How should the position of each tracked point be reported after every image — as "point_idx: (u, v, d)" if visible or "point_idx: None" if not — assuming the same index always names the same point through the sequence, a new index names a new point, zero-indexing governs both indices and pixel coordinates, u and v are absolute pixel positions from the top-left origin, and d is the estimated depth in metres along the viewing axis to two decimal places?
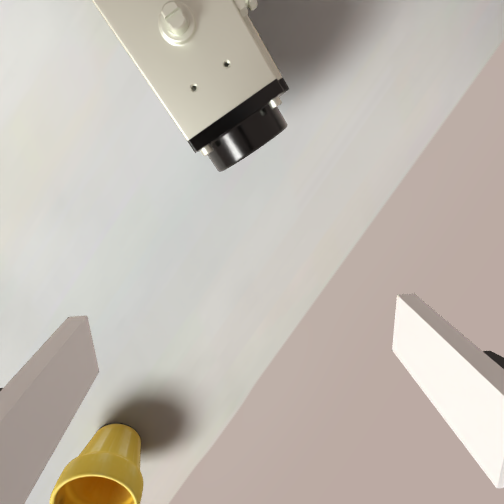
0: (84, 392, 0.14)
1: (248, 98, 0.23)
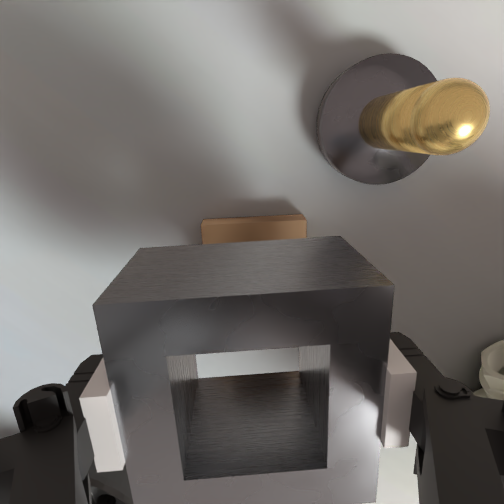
0: None
1: None
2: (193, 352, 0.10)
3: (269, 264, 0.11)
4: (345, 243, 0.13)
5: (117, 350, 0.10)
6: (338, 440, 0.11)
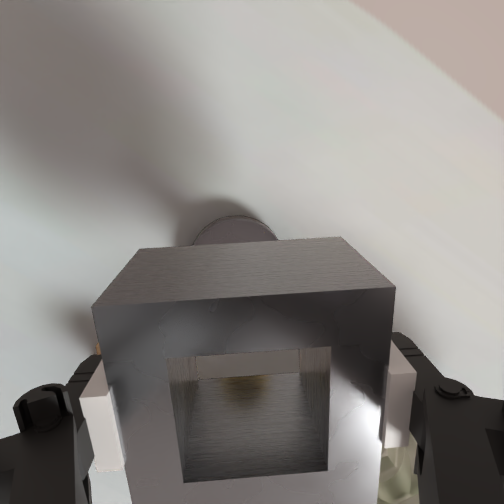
0: None
1: None
2: (193, 354, 0.10)
3: (269, 266, 0.11)
4: (346, 244, 0.13)
5: (116, 352, 0.10)
6: (339, 442, 0.11)
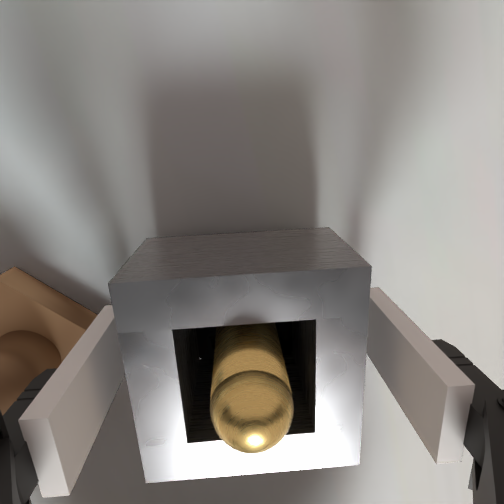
0: (121, 376, 0.15)
1: None
2: (195, 326, 0.11)
3: (263, 251, 0.13)
4: (333, 233, 0.15)
5: (129, 324, 0.11)
6: (324, 406, 0.12)
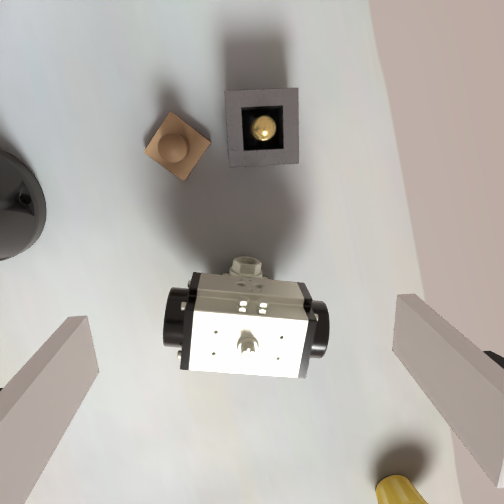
0: (84, 392, 0.14)
1: (305, 338, 0.37)
2: (248, 106, 0.38)
3: None
4: None
5: (229, 104, 0.38)
6: (286, 138, 0.40)
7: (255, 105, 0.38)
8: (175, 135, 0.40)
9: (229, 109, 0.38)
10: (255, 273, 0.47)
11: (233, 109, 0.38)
